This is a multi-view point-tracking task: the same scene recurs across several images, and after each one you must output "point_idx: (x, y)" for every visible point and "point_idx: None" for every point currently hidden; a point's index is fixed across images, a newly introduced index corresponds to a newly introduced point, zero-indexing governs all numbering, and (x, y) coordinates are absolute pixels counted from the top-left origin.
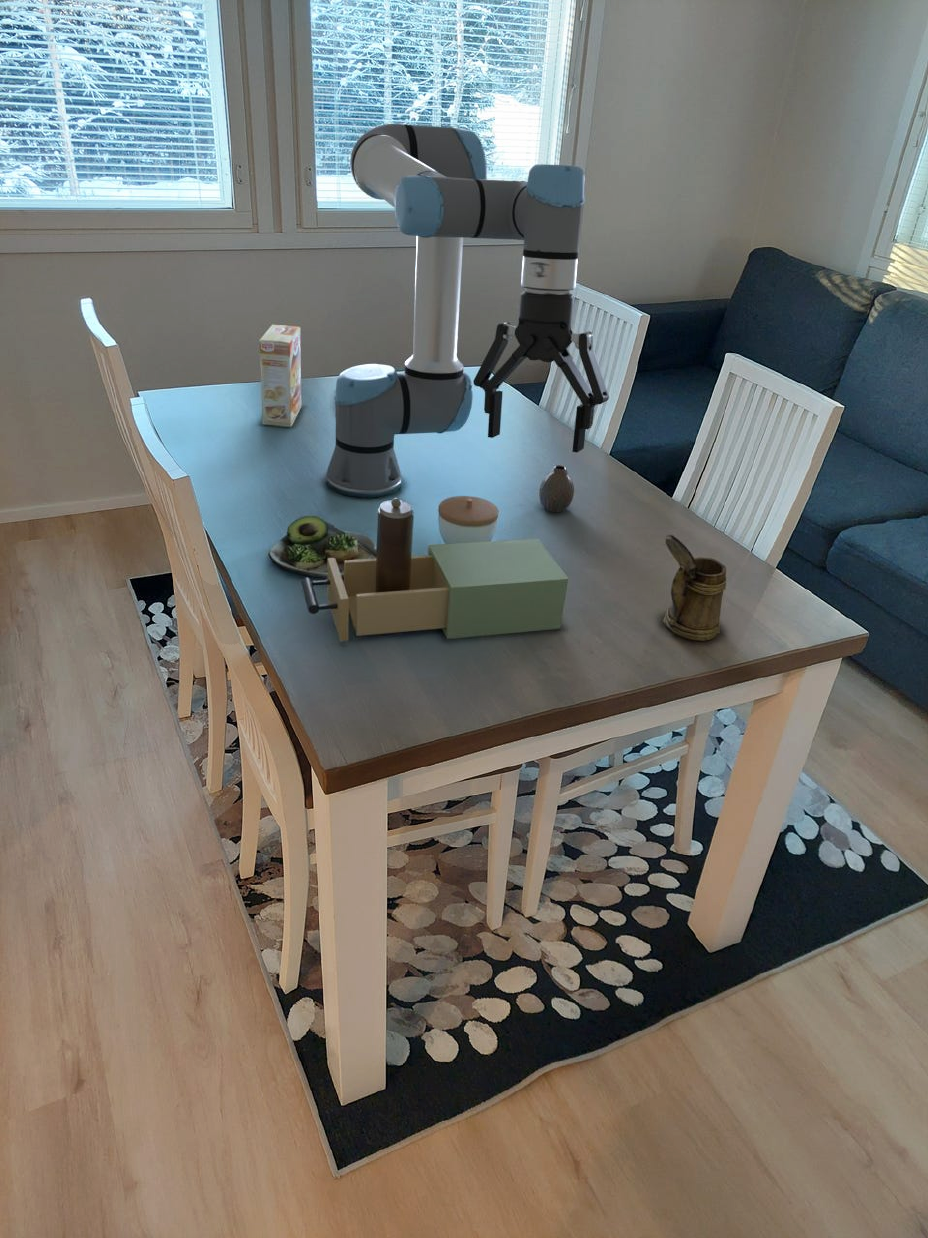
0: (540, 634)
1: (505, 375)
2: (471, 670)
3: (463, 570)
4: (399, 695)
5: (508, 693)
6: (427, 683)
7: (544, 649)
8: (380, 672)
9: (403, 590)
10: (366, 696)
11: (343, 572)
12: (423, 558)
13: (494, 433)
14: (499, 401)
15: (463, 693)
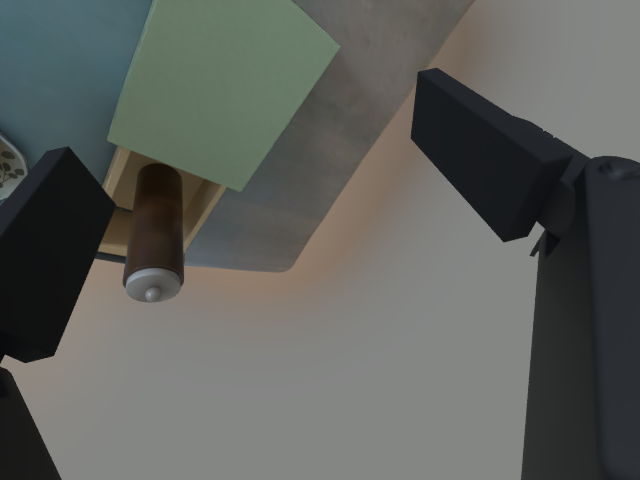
0: None
1: (41, 466)
2: (286, 167)
3: (215, 155)
4: (267, 224)
5: (329, 166)
6: (272, 203)
7: (320, 83)
8: (235, 220)
9: (182, 201)
10: (252, 239)
11: (23, 171)
12: (129, 154)
13: (101, 199)
14: (22, 277)
15: (301, 191)
